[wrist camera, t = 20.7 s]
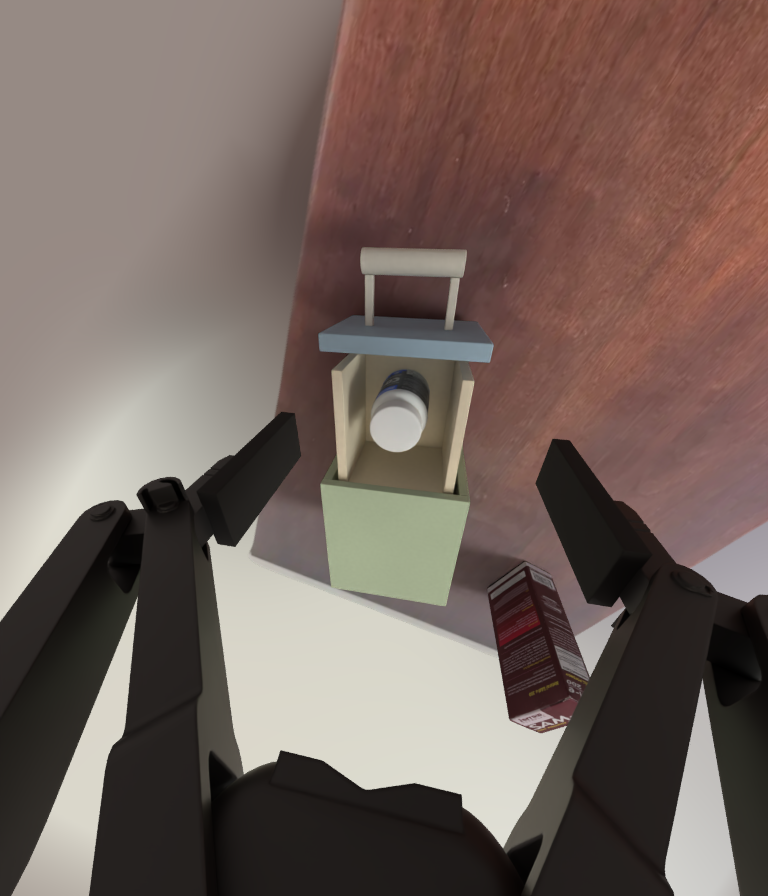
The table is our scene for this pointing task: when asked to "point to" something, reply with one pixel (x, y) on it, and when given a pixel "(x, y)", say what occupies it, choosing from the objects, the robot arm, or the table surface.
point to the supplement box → (536, 650)
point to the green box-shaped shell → (393, 537)
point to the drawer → (404, 347)
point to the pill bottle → (400, 411)
